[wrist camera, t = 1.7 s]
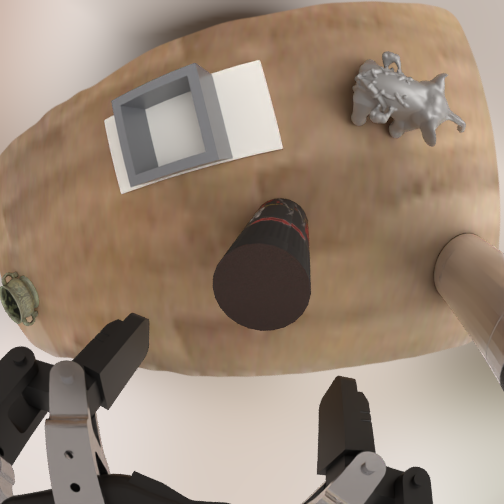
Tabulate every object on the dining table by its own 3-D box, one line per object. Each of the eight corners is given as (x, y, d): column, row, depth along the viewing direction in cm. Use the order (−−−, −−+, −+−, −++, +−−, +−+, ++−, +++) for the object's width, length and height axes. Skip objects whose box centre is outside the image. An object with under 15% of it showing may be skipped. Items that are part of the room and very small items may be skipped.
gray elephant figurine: (342, 62, 23) (349, 37, 16) (442, 71, 20) (472, 55, 13) (352, 143, 27) (362, 142, 20) (450, 149, 24) (484, 152, 17)
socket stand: (260, 62, 25) (250, 43, 19) (283, 148, 28) (278, 147, 22) (108, 120, 29) (77, 119, 24) (125, 192, 32) (96, 202, 27)
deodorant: (270, 188, 29) (240, 223, 15) (318, 217, 29) (330, 277, 16) (244, 233, 32) (198, 300, 18) (289, 260, 32) (276, 344, 18)
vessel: (11, 272, 44) (-9, 284, 38) (23, 260, 42) (2, 273, 36) (35, 319, 47) (18, 333, 41) (50, 313, 45) (31, 328, 39)
